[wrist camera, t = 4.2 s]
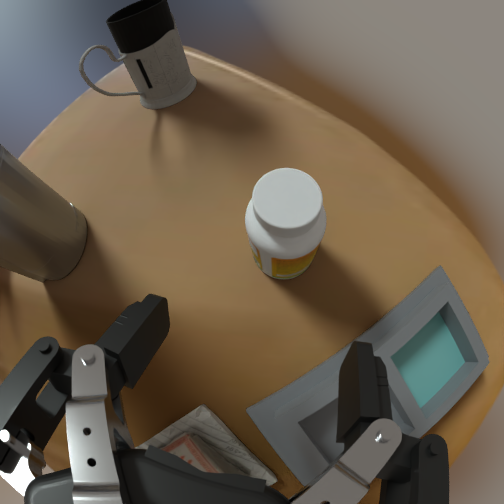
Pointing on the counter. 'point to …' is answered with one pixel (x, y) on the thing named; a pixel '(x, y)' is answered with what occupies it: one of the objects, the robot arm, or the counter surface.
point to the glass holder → (149, 54)
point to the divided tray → (399, 378)
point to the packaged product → (209, 446)
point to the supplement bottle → (285, 222)
